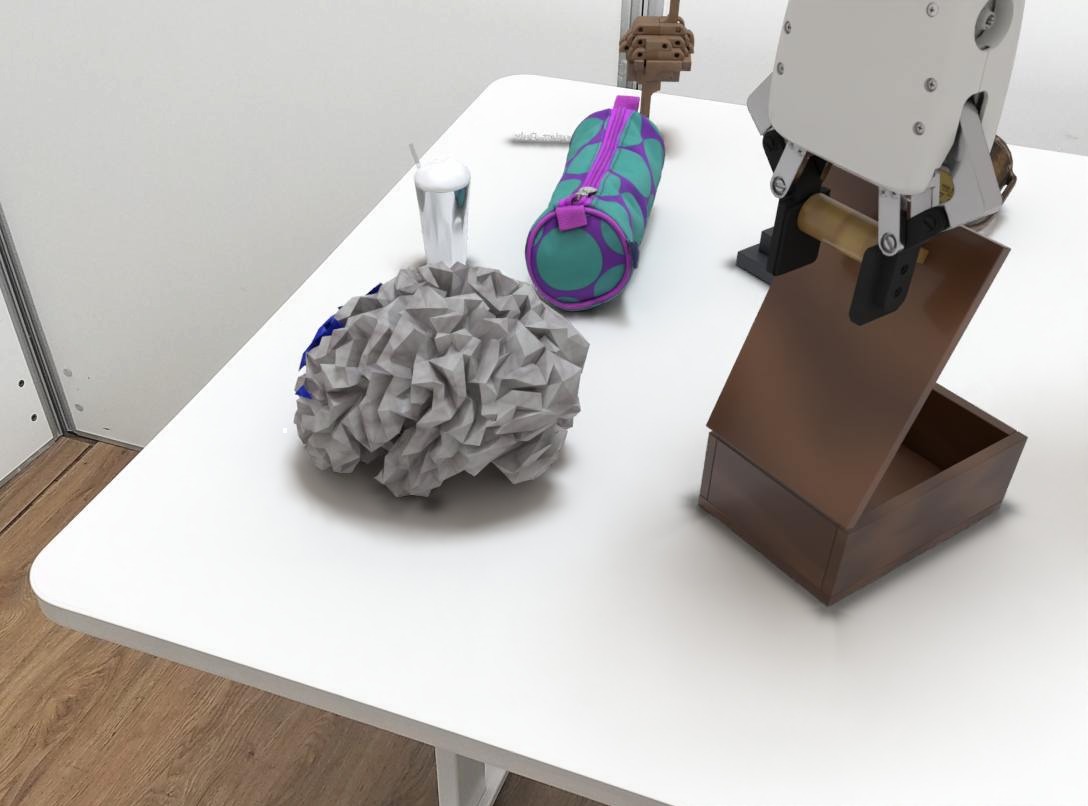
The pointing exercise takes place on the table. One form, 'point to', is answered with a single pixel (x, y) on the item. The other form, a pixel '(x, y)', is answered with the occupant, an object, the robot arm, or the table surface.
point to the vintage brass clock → (1003, 174)
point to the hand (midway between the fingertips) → (831, 287)
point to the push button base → (757, 257)
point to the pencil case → (597, 209)
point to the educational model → (441, 379)
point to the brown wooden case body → (871, 499)
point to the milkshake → (443, 208)
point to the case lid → (848, 353)
